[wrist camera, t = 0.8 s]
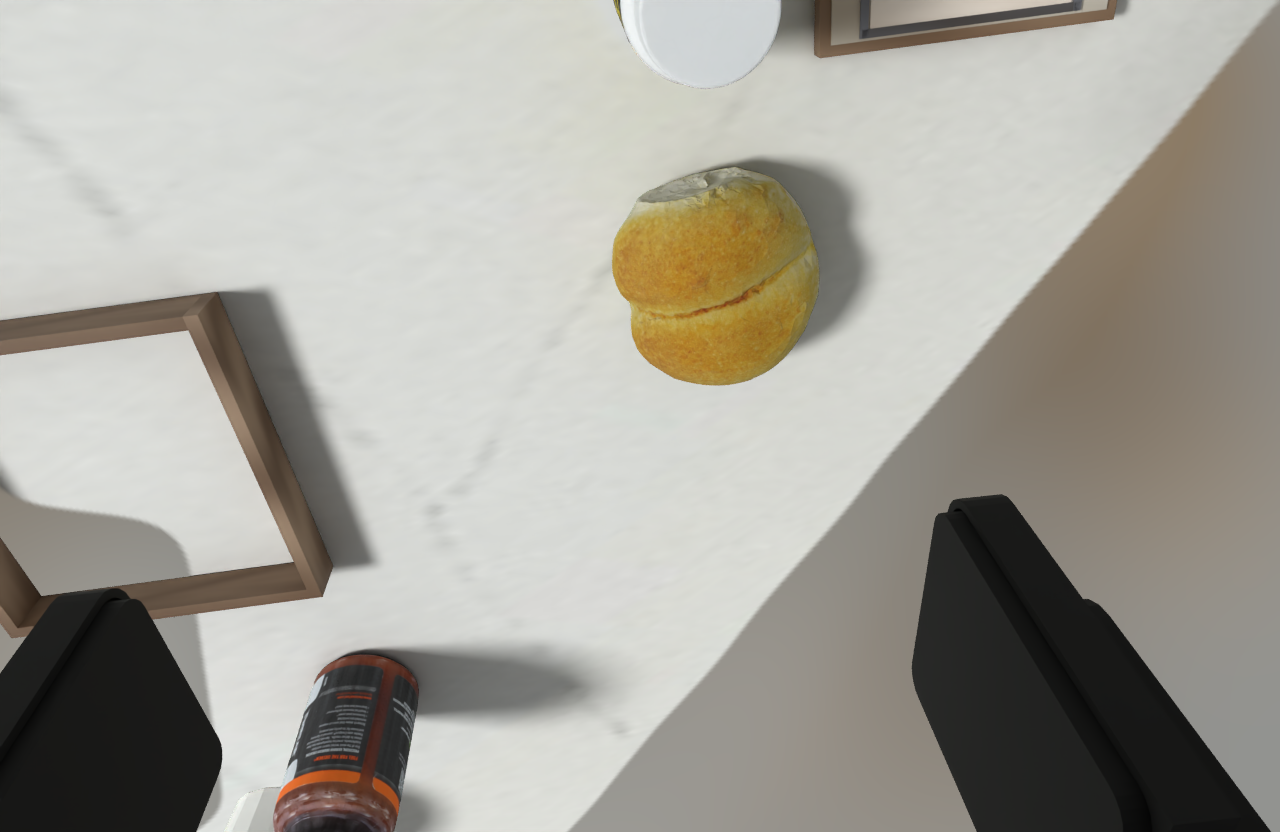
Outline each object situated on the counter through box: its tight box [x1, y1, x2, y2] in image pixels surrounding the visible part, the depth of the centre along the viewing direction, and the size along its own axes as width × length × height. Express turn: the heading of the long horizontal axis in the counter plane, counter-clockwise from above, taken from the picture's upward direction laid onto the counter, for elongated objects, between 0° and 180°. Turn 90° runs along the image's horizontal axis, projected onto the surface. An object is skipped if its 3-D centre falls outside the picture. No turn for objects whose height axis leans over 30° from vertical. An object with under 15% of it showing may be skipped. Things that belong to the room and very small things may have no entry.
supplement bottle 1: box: [273, 655, 419, 832], centre depth 43 cm, size 6×6×11 cm
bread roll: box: [612, 167, 819, 385], centre depth 33 cm, size 8×9×4 cm
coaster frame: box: [0, 292, 333, 638], centre depth 38 cm, size 16×16×2 cm
